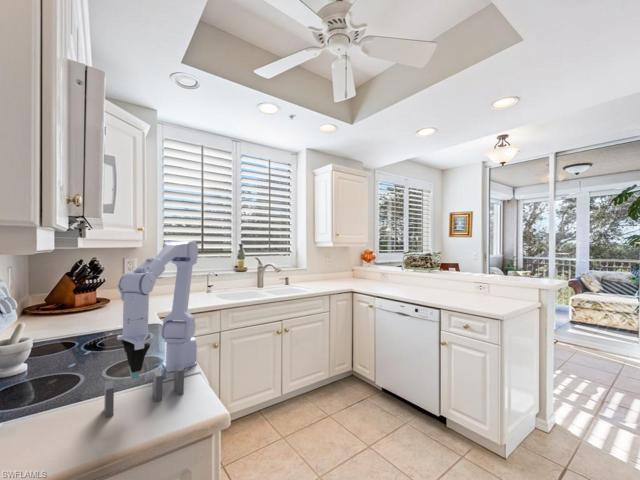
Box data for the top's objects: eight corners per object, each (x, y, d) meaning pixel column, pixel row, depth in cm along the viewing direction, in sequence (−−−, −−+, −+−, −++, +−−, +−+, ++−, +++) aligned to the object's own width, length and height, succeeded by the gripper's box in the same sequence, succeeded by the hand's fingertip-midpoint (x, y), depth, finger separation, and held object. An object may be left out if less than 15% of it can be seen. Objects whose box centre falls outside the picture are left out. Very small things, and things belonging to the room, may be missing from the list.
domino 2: (136, 371, 78) (137, 345, 78) (139, 377, 75) (139, 351, 75) (129, 372, 77) (130, 347, 77) (131, 379, 74) (132, 352, 74)
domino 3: (158, 393, 82) (159, 369, 82) (162, 400, 79) (162, 375, 79) (152, 394, 81) (153, 370, 81) (155, 402, 78) (156, 376, 78)
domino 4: (179, 387, 86) (180, 363, 86) (183, 393, 82) (184, 369, 82) (173, 388, 85) (174, 365, 85) (177, 395, 81) (178, 371, 81)
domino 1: (111, 406, 75) (112, 380, 75) (113, 415, 72) (113, 387, 72) (104, 409, 74) (104, 382, 74) (105, 417, 71) (105, 389, 71)
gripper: (115, 313, 79) (114, 361, 79) (120, 327, 68) (119, 383, 68) (144, 309, 84) (143, 355, 84) (154, 322, 73) (153, 374, 73)
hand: (134, 367), depth 76 cm, fingers closed on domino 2, 4 cm apart
